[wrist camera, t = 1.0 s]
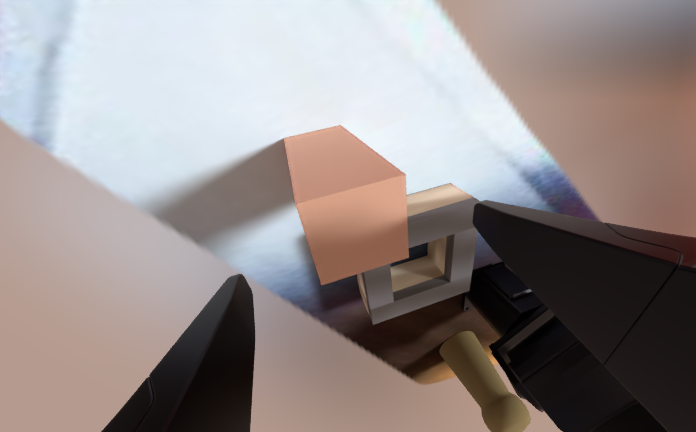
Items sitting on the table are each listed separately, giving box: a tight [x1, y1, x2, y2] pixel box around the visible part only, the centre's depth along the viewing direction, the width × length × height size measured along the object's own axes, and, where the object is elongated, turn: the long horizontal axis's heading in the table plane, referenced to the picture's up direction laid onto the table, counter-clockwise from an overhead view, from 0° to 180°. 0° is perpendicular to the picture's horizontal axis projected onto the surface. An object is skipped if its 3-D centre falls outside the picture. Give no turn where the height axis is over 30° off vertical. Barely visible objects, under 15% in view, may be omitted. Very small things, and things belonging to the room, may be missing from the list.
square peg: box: [284, 125, 409, 285], centre depth 14 cm, size 4×4×10 cm
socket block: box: [357, 183, 481, 325], centre depth 22 cm, size 10×10×4 cm
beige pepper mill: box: [439, 331, 531, 432], centre depth 33 cm, size 6×6×11 cm
